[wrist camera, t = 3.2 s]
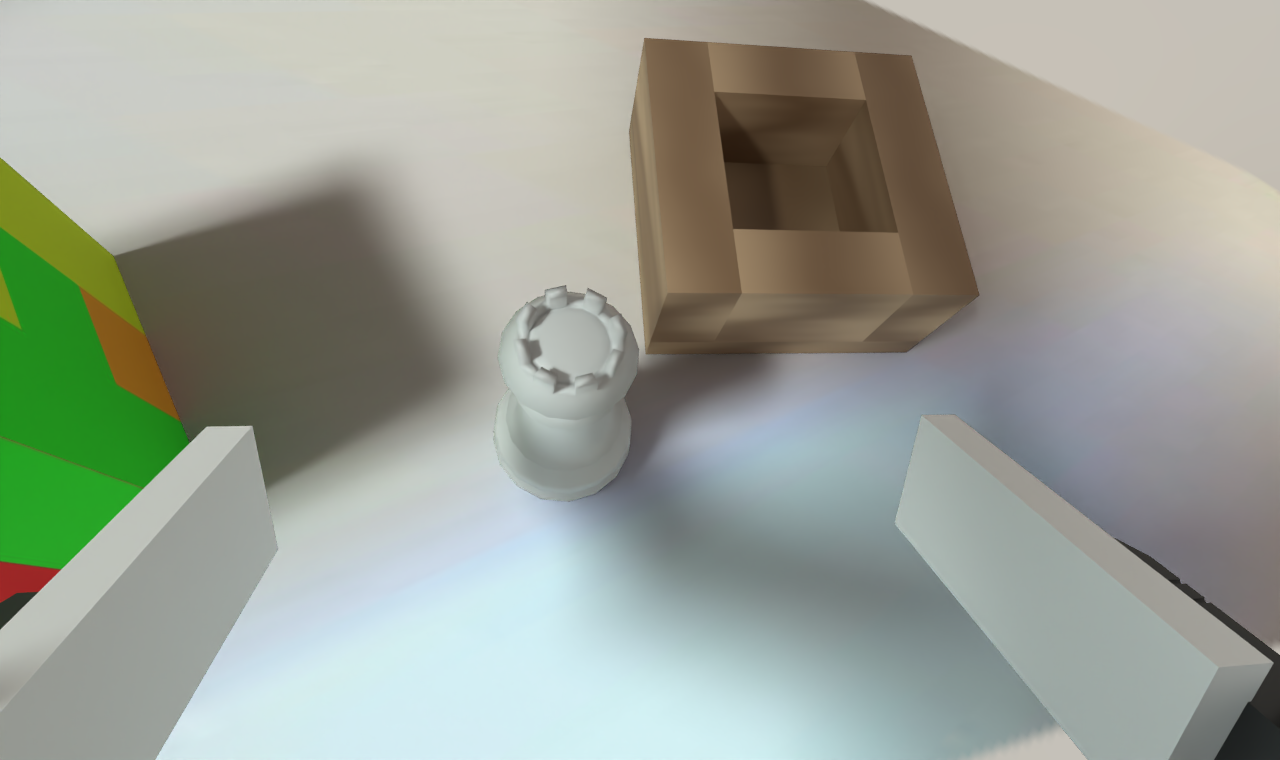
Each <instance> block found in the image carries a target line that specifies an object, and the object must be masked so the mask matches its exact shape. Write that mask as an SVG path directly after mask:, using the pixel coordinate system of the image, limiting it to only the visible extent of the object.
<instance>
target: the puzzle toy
mask: <svg viewBox="0 0 1280 760" xmlns="http://www.w3.org/2000/svg"><path fill="white" fill-rule="evenodd" d="M188 444H189V441H188V438H187V436H186V433H185V431H184V428H183V426H182V423H181V421H180V419H179V416H178V414H177V411H176V409H175V406H174V404H173V401H172V399H171V396H170V394H169V392H168V389H167V387H166V384H165V382H164V379H163V377H162V374H161V372H160V369H159V367H158V365H157V362H156V360H155V357H154V355H153V352H152V350H151V347H150V345H149V342H148V340H147V337H146V335H145V333H144V330H143V328H142V325H141V323H140V320H139V318H138V315H137V313H136V310H135V308H134V306H133V303H132V301H131V298H130V296H129V293H128V291H127V288H126V286H125V283H124V281H123V278H122V276H121V274H120V271H119V269H118V266H117V264H116V261H115V259H114V256H113V255H111V254H110V253H109V252H108V251H107V250H106V249H105V248H103V247H102V246H101V245H100V244H99V243H98V242H97V241H95V240H94V239H93V238H92V237H91V236H90V235H89V234H87V233H86V232H85V231H84V230H83V229H82V228H81V227H79V226H78V225H77V224H76V223H75V222H74V221H72V220H71V219H70V218H69V217H68V216H67V215H66V214H64V213H63V212H62V211H61V210H60V209H59V208H58V207H56V206H55V205H54V204H53V203H52V202H51V201H50V200H48V199H47V198H46V197H45V196H44V195H43V194H42V193H40V192H39V191H38V190H37V189H36V188H35V187H34V186H32V185H31V184H30V183H29V182H28V181H27V180H25V179H24V178H23V177H22V176H21V175H20V174H19V173H17V172H16V171H15V170H14V169H13V168H12V167H11V166H9V165H8V164H7V163H6V162H5V161H4V160H3V159H1V158H0V603H1V602H3V601H4V600H6V599H8V598H9V597H11V596H12V595H14V594H16V593H24V592H39V591H40V590H41V589H42V588H43V587H44V586H45V585H46V584H47V583H48V582H49V581H50V580H51V579H52V578H53V577H54V576H55V575H56V574H57V573H58V572H59V571H60V570H61V569H62V568H64V567H65V566H66V565H67V564H68V563H69V562H70V561H71V560H72V559H73V558H74V557H75V556H76V555H77V554H78V553H79V552H80V551H81V550H82V549H83V548H84V547H85V546H86V545H87V544H88V543H89V542H90V541H91V540H92V539H93V538H94V537H95V536H96V535H97V534H98V533H99V532H100V531H101V530H102V529H103V528H104V527H105V526H106V525H107V524H108V523H109V522H110V521H111V520H112V519H113V518H114V517H115V516H116V515H117V514H118V513H119V512H120V511H121V510H122V509H123V508H124V507H125V506H126V505H128V504H129V503H130V502H131V501H132V500H133V499H134V498H135V497H136V496H137V495H138V494H139V493H140V492H141V491H142V490H143V489H144V488H145V487H146V486H147V485H148V484H149V483H150V482H151V481H152V480H153V479H154V478H155V477H156V476H157V475H158V474H159V473H160V472H161V471H162V470H163V469H164V468H165V467H166V466H167V465H168V464H169V463H170V462H171V461H172V460H173V459H174V458H175V457H176V456H177V455H178V454H179V453H180V452H181V451H182V450H183V449H184V448H185V447H186V446H187V445H188Z"/></svg>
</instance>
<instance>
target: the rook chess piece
mask: <svg viewBox="0 0 1280 760" xmlns="http://www.w3.org/2000/svg"><path fill="white" fill-rule="evenodd" d="M606 301H607V298H606V297H604V296H603V295H601V294H599V293H597V292H595V291H593V290H591V289H589V288H588V289H587V292H586V294H581V293H573V292H567V289H566V285H565V286H560V287H556V288H551V289H547V290H545V296H541V297H537V298H536V299H534V300H533V301H531V302H530V303H528V302H527V303H526V304H525V306H524V307H522V308H521V309H519V310H518V311H516V313H515V314H514V316H513V317H512V319H511V320H510V321H509V323H508V324H507V326H506V327H505V329H504V330H503V332H502V335H501V341H500V348H499V354H498V361H499V364H500V368H501V371H502V375H503V379H504V382H505V384H506V385H507V386H508V390H507V392H506V393H505V395H504V396H503V398H502V399H501V401H500V403H499V404H498V406H497V413H496V419H495V425H494V438H493V440H494V444H495V448H496V451H497V455H498V459H499V463H500V465H501V467H502V468H503V469H504V470H505V472H506V473H507V474H508V475H509V477H510V478H511V479H512V480H513V482H514V483H515V484H516V485H517V486H518V487H520V488H522V489H523V490H525V491H527V492H529V493H531V494H533V495H535V496H537V497H539V498H540V499H546V500H557V501H567V502H570V501H573V500H576V499H580V498H583V497H586V496H590V495H593V494H596V493H597V492H598V491H600V490H601V489H602V488H603V487H604V486H606V485H607V484H608V483H609V482H610V481H612V480H613V479H614V478H615V477H617V475H618V473H619V471H620V469H621V467H622V465H623V463H624V461H625V460H626V458H627V456H628V454H629V446H630V437H631V424H632V419H631V416H630V413H629V410H628V407H627V404H626V401H625V398H624V397H625V395H626V393H627V391H628V390H629V388H630V386H631V384H632V382H633V380H634V379H635V377H636V375H637V368H638V355H639V348H638V345H637V342H636V339H635V337H634V334H633V331H632V328H631V325H630V324H629V323H628V322H627V321H626V320H625V319H624V318H623V317H622V315H621V314H620V313H619V312H618V311H617V310H616V309H615V308H614V307H613V306H611V305H609V304H607V303H606Z"/></svg>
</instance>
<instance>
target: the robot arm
mask: <svg viewBox="0 0 1280 760" xmlns="http://www.w3.org/2000/svg"><path fill="white" fill-rule="evenodd" d="M895 525H896V526H897V527H898V528H899V530H900V531H901V532H902V533H903V534H904V536H905V537H906V538H907V539H908V541H909V542H910V543H911V544H912V545H913V547H914V548H915V549H916V550H917V552H918V553H919V554H920V555H921V556H922V558H923V559H924V560H925V561H926V563H927V564H928V565H929V566H930V567H931V569H932V570H933V571H934V572H935V574H936V575H937V576H938V577H939V578H940V580H941V581H942V582H943V583H944V585H945V586H946V587H947V588H948V589H949V591H950V592H951V593H952V594H953V596H954V597H955V598H956V599H957V601H958V602H959V603H960V604H961V605H962V607H963V608H964V609H965V610H966V612H967V613H968V614H969V615H970V616H971V618H972V619H973V620H974V621H975V623H976V624H977V625H978V626H979V627H980V629H981V630H982V631H983V632H984V634H985V635H986V636H987V637H988V638H989V640H990V641H991V642H992V643H993V645H994V646H995V647H996V648H997V649H998V651H999V652H1000V653H1001V654H1002V656H1003V657H1004V658H1005V659H1006V660H1007V662H1008V663H1009V664H1010V665H1011V667H1012V668H1013V669H1014V670H1015V671H1016V673H1017V674H1018V675H1019V676H1020V678H1021V679H1022V680H1023V681H1024V682H1025V684H1026V685H1027V686H1028V687H1029V689H1030V690H1031V691H1032V692H1033V693H1034V695H1035V696H1036V697H1037V698H1038V700H1039V701H1040V702H1041V703H1042V704H1043V706H1044V707H1045V708H1046V709H1047V711H1048V712H1049V713H1050V714H1051V715H1052V717H1053V718H1054V719H1055V720H1056V722H1057V723H1058V724H1059V725H1060V726H1061V728H1062V729H1063V730H1064V731H1065V733H1066V734H1067V735H1068V736H1069V737H1070V739H1071V740H1072V741H1073V742H1074V743H1075V745H1076V746H1077V747H1078V748H1079V750H1080V751H1081V752H1082V753H1083V754H1084V756H1085V757H1086V758H1087V759H1088V760H1280V655H1279V654H1278V653H1276V652H1275V651H1274V650H1272V649H1271V648H1270V647H1268V646H1267V645H1266V644H1264V643H1263V642H1262V641H1260V640H1259V639H1258V638H1257V637H1255V636H1254V635H1253V634H1251V633H1250V632H1249V631H1247V630H1246V629H1245V628H1243V627H1242V626H1241V625H1239V624H1238V623H1237V622H1235V621H1234V620H1233V619H1232V618H1230V617H1229V616H1228V615H1226V614H1225V613H1224V612H1222V611H1221V610H1220V609H1218V608H1217V607H1216V606H1214V605H1213V604H1212V603H1206V602H1205V600H1204V599H1205V598H1204V597H1203V596H1201V595H1200V594H1199V593H1197V592H1196V591H1195V590H1193V589H1192V588H1191V587H1190V586H1188V585H1187V584H1181V583H1180V579H1179V578H1178V577H1176V576H1175V575H1174V574H1172V573H1171V572H1170V571H1169V570H1167V569H1166V568H1165V567H1163V566H1162V565H1161V564H1159V563H1158V562H1157V561H1155V560H1154V559H1153V558H1151V557H1150V556H1148V555H1146V554H1144V553H1142V552H1140V551H1139V550H1137V549H1135V548H1133V547H1131V546H1129V545H1127V544H1125V543H1123V542H1121V541H1119V540H1118V539H1116V538H1113V537H1112V536H1110V535H1109V534H1108V533H1106V532H1105V531H1104V530H1103V529H1101V528H1100V527H1099V526H1097V525H1096V524H1095V523H1094V522H1092V521H1091V520H1090V519H1088V518H1087V517H1086V516H1085V515H1083V514H1082V513H1081V512H1079V511H1078V510H1077V509H1076V508H1074V507H1073V506H1072V505H1070V504H1069V503H1068V502H1067V501H1065V500H1064V499H1063V498H1061V497H1060V496H1059V495H1058V494H1056V493H1055V492H1054V491H1052V490H1051V489H1050V488H1049V487H1047V486H1046V485H1045V484H1043V483H1042V482H1041V481H1040V480H1038V479H1037V478H1036V477H1034V476H1033V475H1032V474H1031V473H1029V472H1028V471H1027V470H1025V469H1024V468H1023V467H1022V466H1020V465H1019V464H1018V463H1016V462H1015V461H1014V460H1013V459H1011V458H1010V457H1009V456H1007V455H1006V454H1005V453H1004V452H1002V451H1001V450H1000V449H998V448H997V447H996V446H995V445H993V444H992V443H991V442H989V441H988V440H987V439H986V438H984V437H983V436H982V435H980V434H979V433H978V432H977V431H975V430H974V429H973V428H971V427H970V426H969V425H968V424H966V423H965V422H964V421H962V420H961V419H960V418H959V417H957V416H956V415H921V419H920V423H919V427H918V431H917V435H916V439H915V443H914V447H913V451H912V455H911V459H910V463H909V467H908V471H907V475H906V479H905V483H904V487H903V491H902V495H901V499H900V503H899V507H898V511H897V515H896V519H895ZM277 550H278V546H277V541H276V536H275V531H274V527H273V522H272V517H271V512H270V507H269V503H268V498H267V493H266V488H265V484H264V479H263V474H262V469H261V465H260V460H259V455H258V450H257V445H256V441H255V436H254V431H253V426H212V427H206V428H205V429H204V430H203V431H202V432H201V433H200V434H199V435H198V436H197V437H196V438H195V439H194V440H193V441H192V442H190V443H189V444H188V445H187V446H186V447H185V448H184V449H183V450H182V451H181V452H180V453H179V454H178V455H177V456H176V457H175V458H174V459H173V460H172V461H171V462H170V463H169V464H168V465H167V466H166V467H165V468H164V469H163V470H162V471H161V472H160V473H159V474H158V475H157V476H156V477H155V478H154V479H153V480H152V481H151V482H150V483H149V484H148V485H147V486H146V487H145V488H144V489H143V490H142V491H141V492H140V493H139V494H138V495H137V496H136V497H135V498H134V499H133V500H132V501H131V502H130V503H129V504H128V505H126V506H125V507H124V508H123V509H122V510H121V511H120V512H119V513H118V514H117V515H116V516H115V517H114V518H113V519H112V520H111V521H110V522H109V523H108V524H107V525H106V526H105V527H104V528H103V529H102V530H101V531H100V532H99V533H98V534H97V535H96V536H95V537H94V538H93V539H92V540H91V541H90V542H89V543H88V544H87V545H86V546H85V547H84V548H83V549H82V550H81V551H80V552H79V553H78V554H77V555H76V556H75V557H74V558H73V559H72V560H71V561H70V562H69V563H68V564H67V565H66V566H65V567H64V568H62V569H61V570H60V571H59V572H58V573H57V574H56V575H55V576H54V577H53V578H52V579H51V580H50V581H49V582H48V583H47V584H46V585H45V586H44V587H43V588H42V589H41V590H40V591H39V592H24V593H16V594H14V595H12V596H11V597H9V598H8V599H6V600H4V601H3V602H1V603H0V760H155V759H156V757H157V756H158V754H159V752H160V751H161V749H162V747H163V745H164V744H165V742H166V740H167V739H168V737H169V735H170V733H171V732H172V730H173V728H174V727H175V725H176V723H177V721H178V720H179V718H180V716H181V715H182V713H183V711H184V710H185V708H186V706H187V704H188V703H189V701H190V699H191V698H192V696H193V694H194V692H195V691H196V689H197V687H198V686H199V684H200V682H201V680H202V679H203V677H204V675H205V674H206V672H207V670H208V668H209V667H210V665H211V663H212V662H213V660H214V658H215V656H216V655H217V653H218V651H219V650H220V648H221V646H222V644H223V643H224V641H225V639H226V638H227V636H228V634H229V633H230V631H231V629H232V627H233V626H234V624H235V622H236V621H237V619H238V617H239V615H240V614H241V612H242V610H243V609H244V607H245V605H246V603H247V602H248V600H249V598H250V597H251V595H252V593H253V591H254V590H255V588H256V586H257V585H258V583H259V581H260V579H261V578H262V576H263V574H264V573H265V571H266V569H267V567H268V566H269V564H270V562H271V561H272V559H273V557H274V556H275V554H276V552H277Z"/></svg>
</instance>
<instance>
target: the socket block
mask: <svg viewBox="0 0 1280 760" xmlns="http://www.w3.org/2000/svg"><path fill="white" fill-rule="evenodd" d="M629 136H630V149H631V163H632V176H633V190H634V203H635V216H636V230H637V243H638V257H639V270H640V283H641V297H642V310H643V324H644V337H645V351H646V354H741V353H886V352H907V351H909V350H910V349H911V348H912V347H914V346H915V345H916V344H918V343H919V342H920V341H921V340H923V339H924V338H925V337H927V336H928V335H929V334H930V333H932V332H933V331H934V330H935V329H937V328H938V327H939V326H941V325H942V324H943V323H944V322H946V321H947V320H948V319H950V318H951V317H952V316H953V315H955V314H956V313H957V312H959V311H960V310H961V309H962V308H964V307H965V306H966V305H967V304H969V303H970V302H971V301H973V300H974V299H975V298H976V297H978V296H979V291H978V288H977V284H976V281H975V277H974V274H973V270H972V267H971V263H970V260H969V256H968V253H967V249H966V246H965V242H964V239H963V235H962V232H961V228H960V225H959V221H958V218H957V214H956V211H955V207H954V204H953V200H952V197H951V193H950V190H949V186H948V183H947V179H946V175H945V172H944V168H943V165H942V161H941V158H940V154H939V151H938V147H937V144H936V140H935V137H934V133H933V130H932V126H931V123H930V119H929V116H928V112H927V109H926V105H925V102H924V98H923V95H922V91H921V88H920V84H919V81H918V77H917V74H916V70H915V67H914V63H913V60H912V56H908V55H893V54H878V53H863V52H847V51H832V50H817V49H802V48H787V47H772V46H757V45H742V44H727V43H712V42H697V41H682V40H666V39H651V38H644V44H643V50H642V56H641V62H640V68H639V74H638V80H637V86H636V92H635V98H634V104H633V110H632V117H631V123H630V129H629Z"/></svg>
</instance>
